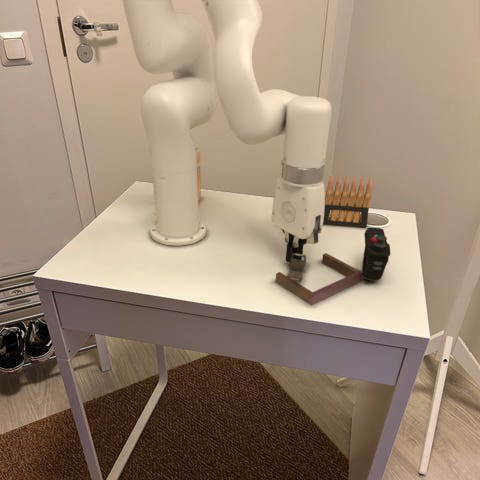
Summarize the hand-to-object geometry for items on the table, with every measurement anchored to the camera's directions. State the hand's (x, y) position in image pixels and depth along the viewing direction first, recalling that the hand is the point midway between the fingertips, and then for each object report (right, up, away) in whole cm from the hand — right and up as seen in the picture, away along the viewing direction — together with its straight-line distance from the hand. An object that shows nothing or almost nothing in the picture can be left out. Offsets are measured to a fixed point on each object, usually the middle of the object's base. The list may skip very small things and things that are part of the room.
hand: (293, 260), depth 96 cm
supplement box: (-24, +18, +27) cm, 41 cm away
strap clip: (0, -3, -1) cm, 3 cm away
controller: (+15, -3, -1) cm, 16 cm away
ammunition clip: (+14, +11, +18) cm, 25 cm away
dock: (+4, -4, -4) cm, 7 cm away
